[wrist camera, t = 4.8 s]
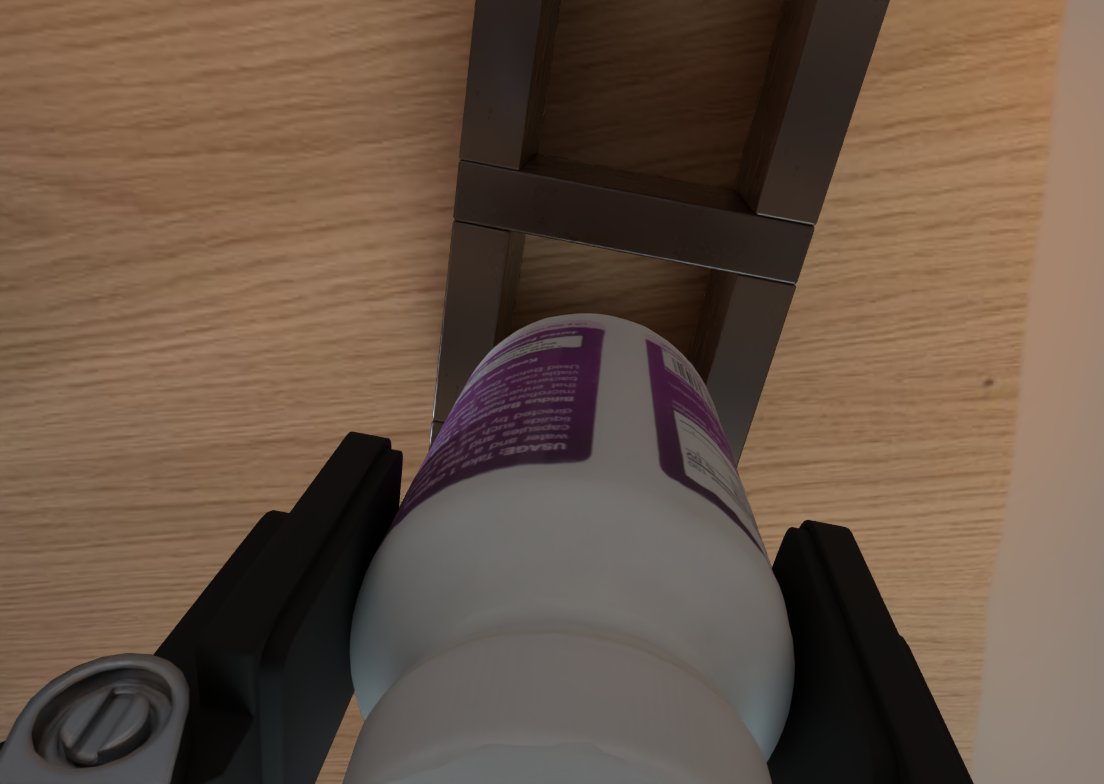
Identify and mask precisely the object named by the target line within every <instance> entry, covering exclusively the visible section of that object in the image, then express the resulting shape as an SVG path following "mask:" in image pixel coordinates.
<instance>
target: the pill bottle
mask: <svg viewBox="0 0 1104 784" xmlns="http://www.w3.org/2000/svg"><path fill="white" fill-rule="evenodd" d="M350 665H351V676H352V681H353V686H354V690H355V694H356V698H357V701H358V705H359V708H360V711H361V714H362V716H363V719H364V721H365V722H364V724H363V726H362V729H361V731H360V733H359V736H358V739H357V741H356V744H355V747H354V750H353V753H352V756H351V759H350V762H349V765H348V768H347V771H346V774H345V777H344V780H343V783H342V784H772V781H771V777H770V774H769V770H768V767H767V764H766V763H767V761H768V760H769V758H770V756H771V754H772V752H773V751H774V749H775V747H776V745H777V743H778V741H779V738H780V736H781V734H782V732H783V729H784V726H785V723H786V720H787V717H788V714H789V709H790V705H791V699H792V693H793V687H794V674H795V659H794V647H793V638H792V634H791V630H790V625H789V621H788V615H787V610H786V606H785V602H784V598H783V595H782V592H781V589H780V586H779V583H778V581H777V579H776V577H775V575H774V573H773V571H772V568H771V564H770V561H769V558H768V555H767V552H766V549H765V547H764V544H763V541H762V539H761V536H760V533H759V531H758V527H757V524H756V522H755V519H754V516H753V513H752V510H751V507H750V504H749V502H748V499H747V496H746V493H745V490H744V487H743V485H742V483H741V480H740V478H739V475H738V472H737V469H736V466H735V462H734V459H733V456H732V454H731V451H730V448H729V445H728V443H727V440H726V437H725V434H724V432H723V429H722V426H721V423H720V420H719V417H718V414H717V411H716V408H715V406H714V403H713V401H712V398H711V396H710V394H709V392H708V390H707V388H706V386H705V384H704V382H703V380H702V379H701V377H700V375H699V374H698V372H697V371H696V370H695V368H694V367H693V365H692V364H691V363H690V362H689V361H688V360H687V359H686V358H685V356H684V355H683V354H682V353H681V352H680V351H679V350H678V349H676V348H675V347H674V346H673V345H672V344H671V343H670V342H668V341H667V340H666V339H664V338H662V337H661V336H659V335H658V334H656V333H655V332H653V331H651V330H650V329H648V328H647V327H645V326H642V325H640V324H637V323H634V322H631V321H628V320H625V319H622V318H618V317H614V316H610V315H603V314H594V313H578V314H567V315H561V316H555V317H549V318H545V319H542V320H539V321H537V322H534V323H531V324H529V325H527V326H525V327H523V328H521V329H519V330H517V331H516V332H514V333H513V334H511V335H510V336H509V337H507V338H506V339H504V340H503V341H502V342H501V343H499V344H498V345H497V346H495V347H494V348H493V349H492V350H491V351H490V352H489V353H488V354H487V355H486V357H485V358H484V359H483V360H482V361H481V363H480V364H479V365H478V366H477V368H476V369H475V371H474V372H473V374H472V375H471V377H470V378H469V380H468V382H467V383H466V385H465V387H464V389H463V390H462V392H461V394H460V395H459V397H458V399H457V401H456V403H455V405H454V406H453V408H452V410H451V412H450V413H449V416H448V417H447V419H446V421H445V423H444V425H443V426H442V428H441V430H440V432H439V434H438V436H437V437H436V439H435V441H434V443H433V445H432V447H431V449H430V451H429V453H428V454H427V456H426V458H425V460H424V462H423V464H422V465H421V467H420V469H419V471H418V473H417V475H416V476H415V478H414V480H413V482H412V484H411V486H410V488H409V490H408V492H407V493H406V495H405V498H404V499H403V501H402V503H401V505H400V507H399V509H398V511H397V513H396V515H395V517H394V519H393V521H392V523H391V525H390V527H389V529H388V531H387V533H386V534H385V536H384V538H383V539H382V541H381V543H380V544H379V546H378V548H377V550H376V552H375V554H374V556H373V558H372V560H371V562H370V565H369V567H368V569H367V571H366V573H365V576H364V579H363V582H362V585H361V588H360V591H359V594H358V597H357V600H356V604H355V608H354V613H353V617H352V626H351V634H350Z"/></svg>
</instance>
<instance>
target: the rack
mask: <svg viewBox="0 0 1104 784" xmlns="http://www.w3.org/2000/svg"><path fill="white" fill-rule="evenodd" d="M889 1H890V0H784V4H783V7H782V11H781V15H780V18H779V22H778V26H777V30H776V33H775V37H774V41H773V44H772V48H771V52H770V55H769V59H768V63H767V66H766V70H765V74H764V77H763V81H762V85H761V89H760V92H759V96H758V100H757V103H756V107H755V111H754V114H753V118H752V122H751V125H750V129H749V133H748V136H747V140H746V144H745V148H744V151H743V155H742V159H741V162H740V166H739V170H738V173H737V177H736V181H735V184H734V190H729V189H724V188H719V187H713V186H708V185H703V184H697V183H692V182H687V181H681V180H676V179H671V178H665V177H660V176H655V175H649V174H644V173H639V172H633V171H628V170H623V169H617V168H612V167H607V166H601V165H596V164H591V163H585V162H580V161H575V160H569V159H564V158H559V157H553V156H548V155H543V154H537V153H538V150H539V144H540V137H541V131H542V124H543V117H544V111H545V104H546V97H547V91H548V84H549V77H550V71H551V64H552V57H553V51H554V44H555V38H556V31H557V24H558V18H559V11H560V4H561V0H476V1H475V10H474V20H473V30H472V39H471V49H470V58H469V68H468V78H467V87H466V97H465V106H464V116H463V125H462V135H461V145H460V154H459V158H460V159H461V160H460V162H459V167H458V176H457V186H456V195H455V205H454V215H453V217H454V219H455V221H454V222H453V225H452V234H451V244H450V253H449V263H448V272H447V282H446V292H445V301H444V311H443V320H442V330H441V339H440V349H439V358H438V368H437V378H436V387H435V397H434V406H433V416H432V417H433V421H432V424H431V434H430V443H429V451H430V449H431V447H432V445H433V443H434V441H435V439H436V437H437V436H438V434H439V432H440V430H441V428H442V426H443V425H444V423H445V421H446V419H447V417H448V416H449V413H450V412H451V410H452V408H453V406H454V405H455V403H456V401H457V399H458V397H459V395H460V394H461V392H462V390H463V389H464V387H465V385H466V383H467V382H468V380H469V378H470V377H471V375H472V374H473V372H474V371H475V369H476V368H477V366H478V365H479V364H480V363H481V361H482V360H483V359H484V358H485V357H486V355H487V354H488V353H489V352H490V351H491V350H492V349H493V348H494V347H495V346H497V345H498V344H499V343H501V342H502V341H503V340H504V339H506V338H507V337H509V336H510V335H511V329H512V322H513V316H514V309H515V302H516V296H517V289H518V282H519V276H520V269H521V262H522V256H523V249H524V242H525V236H526V234H529V235H535V236H540V237H545V238H550V239H556V240H561V241H566V242H571V243H577V244H582V245H587V246H592V247H598V248H603V249H608V250H614V251H619V252H624V253H629V254H635V255H640V256H645V257H650V258H656V259H661V260H666V261H671V262H677V263H682V264H687V265H692V266H698V267H703V268H708V269H711V272H710V276H709V280H708V284H707V287H706V291H705V295H704V298H703V302H702V306H701V309H700V313H699V317H698V320H697V324H696V328H695V331H694V335H693V339H692V343H691V346H690V350H689V354H688V357H687V360H688V361H689V362H690V363H691V364H692V365H693V367H694V368H695V370H696V371H697V372H698V374H699V375H700V377H701V379H702V380H703V382H704V384H705V386H706V388H707V390H708V392H709V394H710V396H711V398H712V401H713V403H714V406H715V408H716V411H717V414H718V417H719V420H720V423H721V426H722V429H723V432H724V434H725V437H726V440H727V443H728V445H729V448H730V451H731V454H732V456H733V459H734V462H735V466H736V468H737V465H738V462H739V459H740V456H741V453H742V450H743V447H744V444H745V441H746V438H747V435H748V432H749V429H750V426H751V423H752V420H753V417H754V414H755V411H756V408H757V405H758V401H759V398H760V395H761V392H762V389H763V386H764V383H765V380H766V377H767V374H768V371H769V368H770V365H771V362H772V359H773V356H774V353H775V350H776V347H777V344H778V341H779V337H780V334H781V331H782V328H783V325H784V322H785V319H786V316H787V313H788V310H789V307H790V304H791V301H792V298H793V295H794V292H795V289H796V286H795V285H794V284H796V283H797V281H798V278H799V275H800V272H801V269H802V266H803V263H804V260H805V257H806V254H807V251H808V248H809V245H810V242H811V238H812V235H813V232H814V226H813V225H816V223H817V221H818V218H819V215H820V212H821V209H822V206H823V202H824V199H825V196H826V193H827V190H828V187H829V184H830V181H831V178H832V175H833V172H834V169H835V166H836V163H837V160H838V157H839V154H840V151H841V148H842V145H843V141H844V138H845V135H846V132H847V129H848V126H849V123H850V120H851V117H852V114H853V111H854V108H855V105H856V102H857V99H858V96H859V93H860V90H861V87H862V84H863V81H864V77H865V74H866V71H867V68H868V65H869V62H870V59H871V56H872V53H873V50H874V47H875V44H876V41H877V38H878V35H879V32H880V29H881V26H882V23H883V20H884V16H885V13H886V10H887V7H888V4H889Z"/></svg>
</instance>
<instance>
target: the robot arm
mask: <svg viewBox="0 0 1104 784" xmlns="http://www.w3.org/2000/svg"><path fill="white" fill-rule="evenodd" d="M402 464H403V454H402V452H401V451H398V450H392V449H391V441H390V439H389V438H383V437H378V436H373V435H368V434H363V433H358V432H349V433H348V434H347V435H346V437H345V438H344V440H343V441H342V442H341V444H340V445H339V446H338V448H337V449H336V450H335V452H334V453H333V454H332V456H331V457H330V459H329V460H328V461H327V463H326V464H325V465H324V467H323V468H322V469H321V471H320V472H319V474H318V475H317V476H316V478H315V479H314V480H313V482H312V483H311V484H310V486H309V487H308V489H307V490H306V491H305V493H304V494H303V495H302V497H301V498H300V499H299V501H298V502H297V503H296V505H295V506H294V508H293V509H292V510H291V512H290V513H285V512H280V511H275V510H272V511H270V512H267V513H266V514H265V515H264V516H263V517H262V518H261V519H260V520H259V521H258V523H257V524H256V525H255V526H254V528H253V529H252V530H251V532H250V533H249V534H248V535H247V537H246V538H245V539H244V540H243V542H242V543H241V544H240V546H239V547H238V548H237V549H236V551H235V552H234V553H233V554H232V556H231V557H230V558H229V559H228V561H227V562H226V563H225V565H224V566H223V567H222V568H221V570H220V571H219V572H218V573H217V575H216V576H215V577H214V579H213V580H212V581H211V582H210V584H209V585H208V586H207V587H206V589H205V590H204V591H203V592H202V594H201V595H200V596H199V598H198V599H197V600H196V601H195V603H194V604H193V605H192V606H191V608H190V609H189V610H188V612H187V613H186V614H185V615H184V617H183V618H182V619H181V620H180V622H179V623H178V624H177V625H176V627H175V628H174V629H173V631H172V632H171V633H170V634H169V636H168V637H167V638H166V639H165V641H164V642H163V643H162V645H161V646H160V647H159V648H158V650H157V651H156V652H155V653H154V655H151V654H137V653H124V654H118V655H111V656H105V657H101V658H98V659H95V660H92V661H89V662H87V663H84V664H81V665H78V666H76V667H74V668H72V669H71V670H69V671H67V672H65V673H64V674H62V675H60V676H58V677H57V678H55V679H53V680H52V681H50V682H49V683H48V684H47V685H46V686H45V687H44V688H42V689H41V690H40V691H39V692H38V693H37V694H36V695H34V696H33V697H32V698H31V699H30V701H29V702H28V703H27V705H26V706H25V708H24V709H23V711H22V712H21V713H20V715H19V716H18V718H17V719H16V721H15V723H14V725H13V727H12V729H11V731H10V733H9V735H8V737H7V739H6V741H4V742H1V743H0V784H315V782H316V780H317V777H318V775H319V773H320V770H321V768H322V766H323V763H324V761H325V759H326V756H327V754H328V752H329V749H330V747H331V745H332V742H333V740H334V738H335V735H336V733H337V731H338V728H339V726H340V724H341V721H342V719H343V717H344V714H345V712H346V710H347V707H348V705H349V703H350V700H351V698H352V696H353V693H354V691H355V690H354V686H353V681H352V676H351V665H350V634H351V626H352V617H353V613H354V608H355V604H356V600H357V597H358V594H359V591H360V588H361V585H362V582H363V579H364V576H365V573H366V571H367V569H368V567H369V565H370V562H371V560H372V558H373V556H374V554H375V552H376V550H377V548H378V546H379V544H380V543H381V541H382V539H383V538H384V536H385V534H386V533H387V531H388V529H389V527H390V525H391V523H392V521H393V519H394V517H395V515H396V513H397V511H398V509H399V502H400V489H401V477H402ZM772 571H773V573H774V575H775V577H776V579H777V581H778V583H779V586H780V589H781V592H782V595H783V598H784V602H785V606H786V610H787V615H788V621H789V625H790V630H791V634H792V638H793V647H794V659H795V674H794V687H793V693H792V699H791V705H790V709H789V714H788V717H787V720H786V723H785V726H784V729H783V732H782V734H781V736H780V738H779V741H778V743H777V745H776V747H775V749H774V751H773V752H772V754H771V756H770V758H769V760H768V761H767V763H766V764H767V767H768V770H769V774H770V777H771V781H772V784H974V783H973V781H972V779H971V777H970V775H969V773H968V771H967V768H966V766H965V764H964V762H963V760H962V758H961V756H960V754H959V752H958V749H957V747H956V745H955V743H954V741H953V739H952V737H951V735H950V732H949V730H948V728H947V726H946V724H945V722H944V720H943V718H942V715H941V713H940V711H939V709H938V707H937V705H936V703H935V701H934V698H933V696H932V694H931V692H930V690H929V688H928V686H927V684H926V682H925V679H924V677H923V675H922V673H921V671H920V669H919V667H918V665H917V662H916V660H915V658H914V656H913V654H912V652H911V650H910V648H909V646H908V644H907V643H906V641H905V640H904V638H903V637H902V636H900V635H899V633H898V631H897V629H896V627H895V625H894V623H893V620H892V618H891V616H890V614H889V612H888V610H887V607H886V605H885V603H884V601H883V599H882V597H881V595H880V592H879V590H878V588H877V586H876V584H875V582H874V579H873V577H872V575H871V573H870V571H869V569H868V567H867V564H866V562H865V560H864V558H863V556H862V554H861V551H860V549H859V547H858V545H857V543H856V541H855V539H854V536H853V534H852V532H851V531H850V530H849V529H848V528H846V527H842V526H837V525H832V524H827V523H822V522H817V521H811V520H806V521H804V522H803V523H802V524H801V526H800V528H794V527H791V528H789V529H788V530H787V532H786V534H785V536H784V538H783V541H782V543H781V546H780V548H779V551H778V553H777V556H776V558H775V561H774V564H773V566H772Z"/></svg>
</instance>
